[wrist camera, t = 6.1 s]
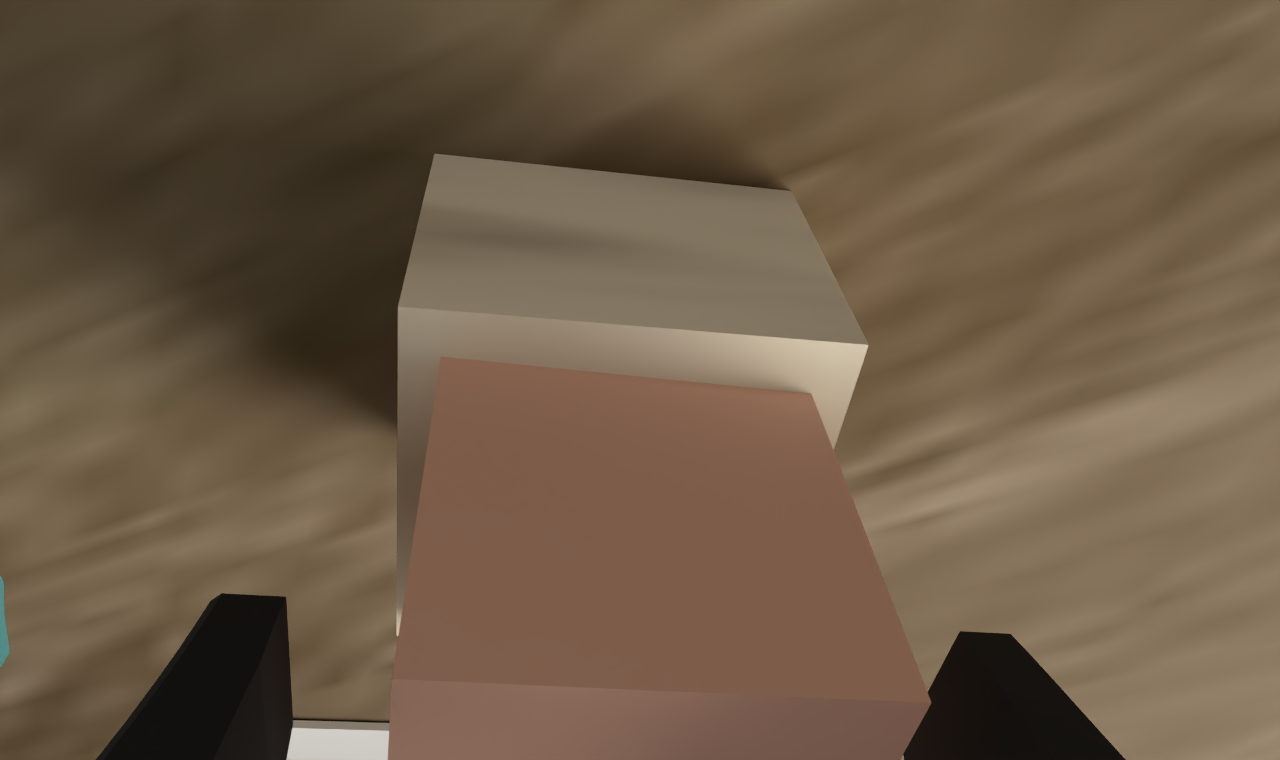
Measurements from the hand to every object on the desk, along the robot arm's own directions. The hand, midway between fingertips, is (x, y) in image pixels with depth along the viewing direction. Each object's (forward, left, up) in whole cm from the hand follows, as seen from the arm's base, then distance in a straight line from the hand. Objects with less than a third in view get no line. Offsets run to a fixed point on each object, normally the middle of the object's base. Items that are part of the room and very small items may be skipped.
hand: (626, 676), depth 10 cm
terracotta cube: (0, 0, -3) cm, 3 cm away
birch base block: (0, 0, -7) cm, 7 cm away
